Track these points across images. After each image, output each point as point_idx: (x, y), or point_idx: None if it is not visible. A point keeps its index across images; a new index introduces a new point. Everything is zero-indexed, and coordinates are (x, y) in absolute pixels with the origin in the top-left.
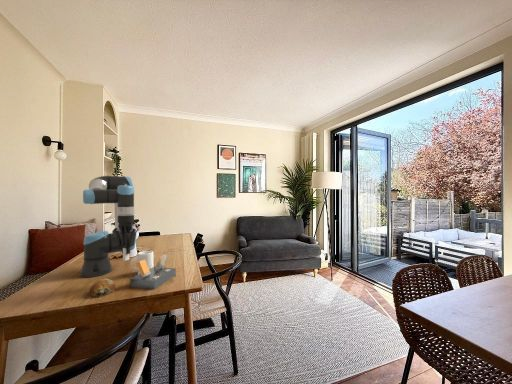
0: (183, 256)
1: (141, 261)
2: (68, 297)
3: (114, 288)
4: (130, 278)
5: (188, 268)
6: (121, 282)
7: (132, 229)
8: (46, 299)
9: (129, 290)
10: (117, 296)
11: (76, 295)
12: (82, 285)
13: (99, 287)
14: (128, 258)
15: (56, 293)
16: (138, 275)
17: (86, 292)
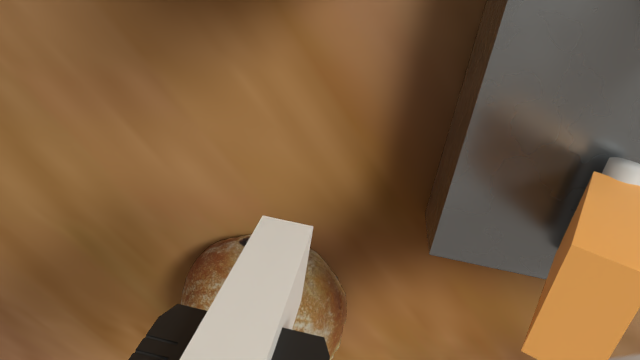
0: None
1: (611, 348)
2: (126, 341)
3: (340, 291)
4: (431, 251)
5: None
6: (285, 128)
7: None
8: (38, 352)
9: (459, 277)
10: (422, 352)
11: (145, 323)
12: (25, 188)
13: None
14: (305, 257)
15: (3, 294)
16: (479, 175)
17: (166, 291)
